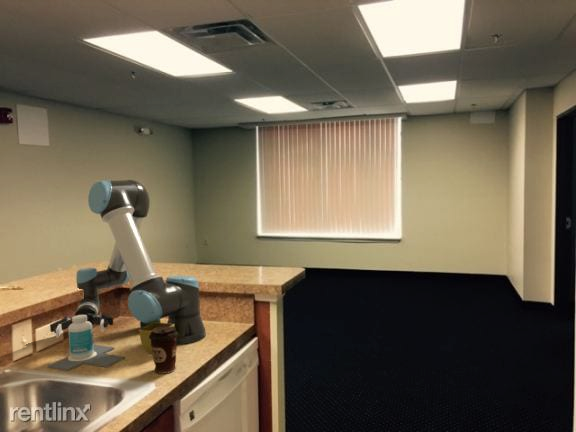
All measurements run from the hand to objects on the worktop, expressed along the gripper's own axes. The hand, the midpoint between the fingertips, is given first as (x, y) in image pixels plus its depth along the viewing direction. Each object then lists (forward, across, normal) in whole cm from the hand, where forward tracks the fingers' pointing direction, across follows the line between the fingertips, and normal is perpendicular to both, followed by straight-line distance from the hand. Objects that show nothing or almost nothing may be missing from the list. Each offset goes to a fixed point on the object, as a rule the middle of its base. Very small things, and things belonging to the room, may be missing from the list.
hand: (79, 331), depth 155 cm
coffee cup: (+20, -26, -10) cm, 35 cm away
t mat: (+2, -4, -10) cm, 11 cm away
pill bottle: (-2, 0, -9) cm, 9 cm away
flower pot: (+3, -25, -10) cm, 27 cm away
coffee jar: (-26, -23, -10) cm, 36 cm away
